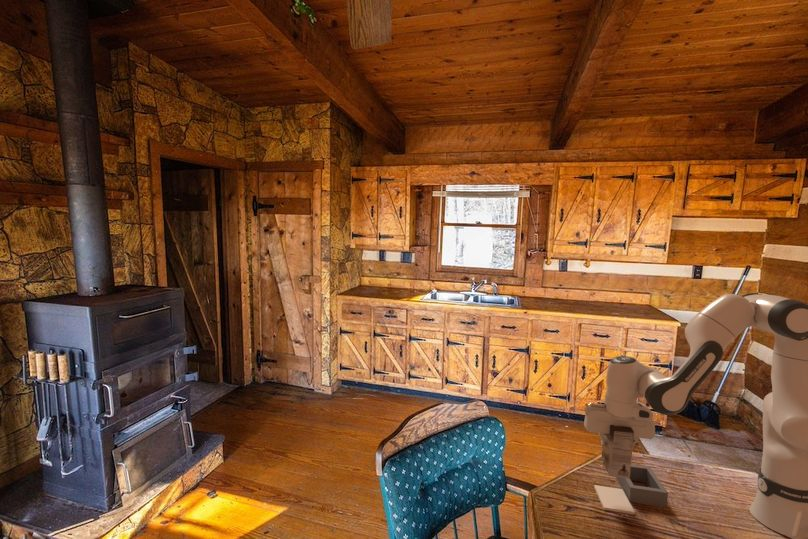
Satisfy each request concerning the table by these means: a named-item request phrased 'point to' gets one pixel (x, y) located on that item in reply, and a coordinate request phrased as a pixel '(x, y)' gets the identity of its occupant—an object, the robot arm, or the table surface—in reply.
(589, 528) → the table surface
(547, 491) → the table surface
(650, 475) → the rectangular frame
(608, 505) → the mat
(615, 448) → the coffee box
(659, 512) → the table surface
